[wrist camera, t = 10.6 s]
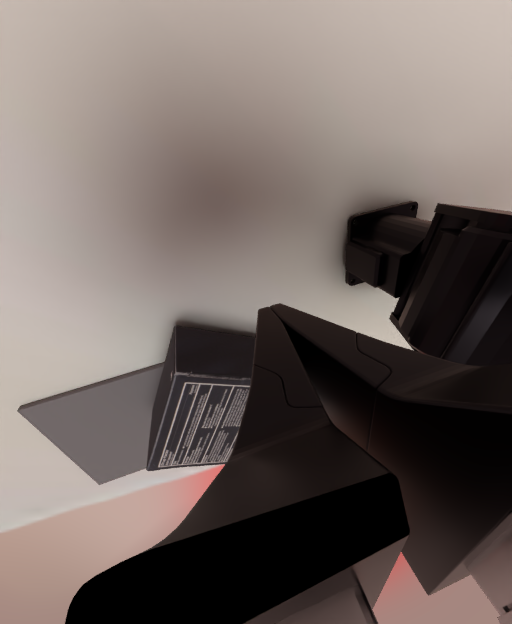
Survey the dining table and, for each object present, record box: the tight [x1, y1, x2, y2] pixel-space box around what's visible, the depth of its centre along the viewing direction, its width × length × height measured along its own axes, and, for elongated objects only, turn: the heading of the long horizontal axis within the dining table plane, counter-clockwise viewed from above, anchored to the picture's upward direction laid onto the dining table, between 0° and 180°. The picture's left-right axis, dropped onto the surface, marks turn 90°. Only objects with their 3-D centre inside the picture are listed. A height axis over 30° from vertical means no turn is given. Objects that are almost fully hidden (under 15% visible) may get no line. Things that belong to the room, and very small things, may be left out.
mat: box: [18, 362, 165, 485], centre depth 27 cm, size 18×14×1 cm
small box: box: [146, 326, 255, 471], centre depth 22 cm, size 11×6×10 cm
